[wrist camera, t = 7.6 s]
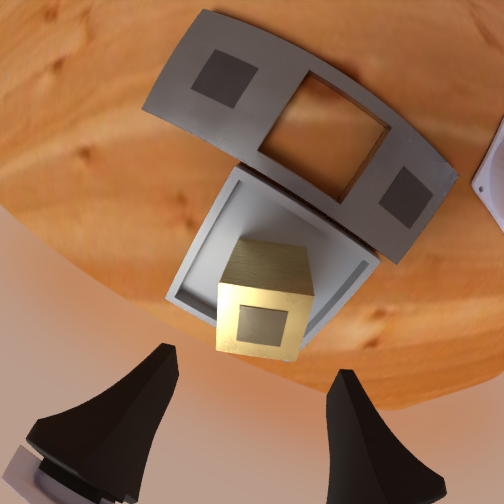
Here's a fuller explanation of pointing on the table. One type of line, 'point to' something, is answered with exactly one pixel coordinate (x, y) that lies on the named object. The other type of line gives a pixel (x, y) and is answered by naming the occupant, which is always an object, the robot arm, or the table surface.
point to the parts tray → (272, 230)
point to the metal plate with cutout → (270, 108)
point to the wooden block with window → (264, 300)
